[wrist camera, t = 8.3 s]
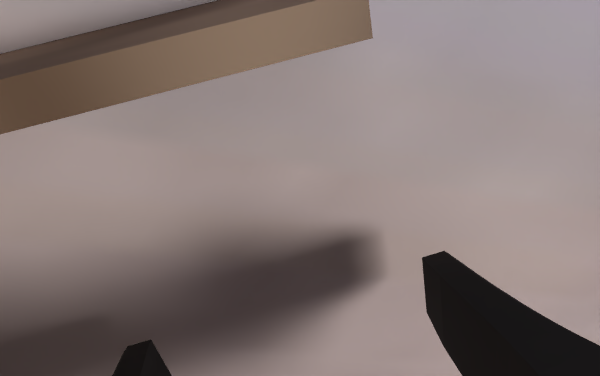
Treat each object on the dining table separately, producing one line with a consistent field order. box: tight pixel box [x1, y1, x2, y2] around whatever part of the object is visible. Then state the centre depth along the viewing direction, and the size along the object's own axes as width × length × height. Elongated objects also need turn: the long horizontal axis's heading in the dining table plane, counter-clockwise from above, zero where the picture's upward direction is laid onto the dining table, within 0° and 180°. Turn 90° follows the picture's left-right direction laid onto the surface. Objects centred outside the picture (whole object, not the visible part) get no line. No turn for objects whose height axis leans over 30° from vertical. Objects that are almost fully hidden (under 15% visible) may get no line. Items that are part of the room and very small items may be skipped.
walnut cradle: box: [0, 0, 373, 134], centre depth 12 cm, size 10×15×2 cm, turn 11°
